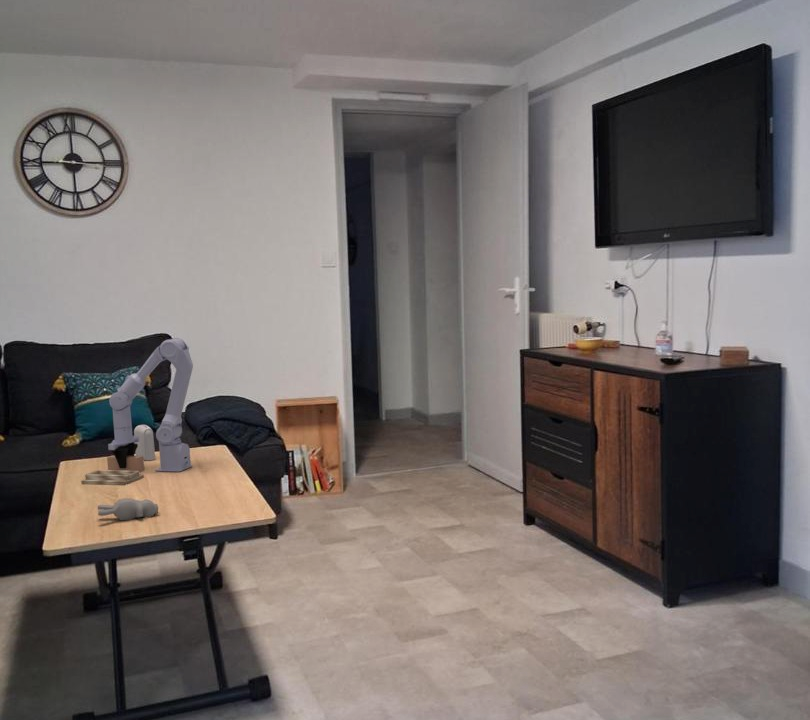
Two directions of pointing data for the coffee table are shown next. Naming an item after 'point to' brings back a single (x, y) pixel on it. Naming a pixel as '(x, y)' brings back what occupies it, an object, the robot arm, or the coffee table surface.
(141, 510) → the bunny figurine
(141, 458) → the clay strip
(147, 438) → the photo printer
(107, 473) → the framed rectangular tray
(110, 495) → the coffee table surface
